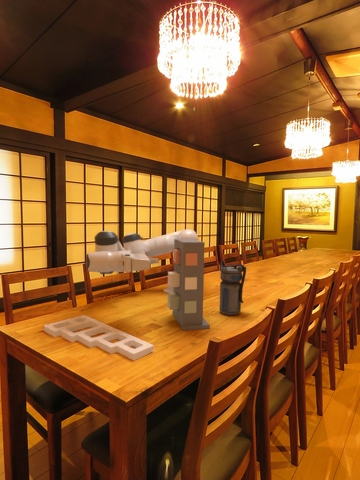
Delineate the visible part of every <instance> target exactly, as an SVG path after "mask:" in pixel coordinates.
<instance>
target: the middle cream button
mask: <svg viewBox="0 0 360 480" xmlns="http://www.w3.org/2000/svg"><path fill="white" fill-rule="evenodd" d="M167 285H169V286H170V287H180V272H174V271H167Z"/></svg>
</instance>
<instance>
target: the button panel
mask: <svg viewBox="0 0 360 480" xmlns="http://www.w3.org/2000/svg"><path fill="white" fill-rule="evenodd" d="M205 244H206V243H205V241H202V240H199V239H198V240H195V239H174V249H180V264H175V263H174V262H173V272H180V287H174V294H176V293H178V294H179V309H178V310H171V311H172V315H173V317H174V318H175V320H176V322H177V323H178V325H179V326H180V329H182V331H193V330H194V331H195V330H208V329H210V328H211V325H210V324H209V322H208V321H207V320H206V319H205V318H204V281H205V278H204V277H205V274H204V273H205V246H206V245H205Z"/></svg>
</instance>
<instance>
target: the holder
mask: <svg viewBox="0 0 360 480" xmlns="http://www.w3.org/2000/svg"><path fill="white" fill-rule="evenodd" d="M87 328H88V329H87ZM79 330H80V331H79ZM76 331H77V332H76ZM43 332H45V333H46V334H48V335H50V336H51V337H52V338H56V337H62V338H63V339H65V340H66V341H69V342H70V343H74V342H77V341H78V342H79V343H80V344H83V345H84V346H86V347H88V348H91V349H92V348H95V347H97V348H99V349H101V350H103V351H104V352H107V353H109V354H111V355H112V354H115V353H118V354H120V355H122V356H123V357H126V358H128V359H130V360H132V361H136V360H139V359H141V358H143V357H145V356H147V354H148V355H150V354H152V353H153V351H154V348H155V347H154V344H151V343H150V342H148V341H145V340H142V339H141V338H138V337H136V336H134V335H131V334H130V333H127V332H124V331H122V330H121V329H117V328H115V327H114V326H110V325H108V324H106V323H104V322H101V321H99V320H97V319H95V318H92V317H91V316H88V315H86V314H83V315H78V316H75V317H71V318H67V319H63V320H60V321H56V322H52V323H49V324H45V325H43ZM102 333H104V334H102ZM98 334H99V336H96V335H98ZM100 334H101V335H100ZM93 336H96V337H93ZM113 340H118V341H116V342H113V343H112V341H113ZM133 347H134V348H133ZM151 352H152V353H151ZM149 353H150V354H149Z"/></svg>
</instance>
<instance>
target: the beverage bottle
mask: <svg viewBox="0 0 360 480" xmlns="http://www.w3.org/2000/svg"><path fill="white" fill-rule="evenodd" d="M219 272H220V276H219V277H220V280H221V281H220V285H219V286H220V287H219V311H220V313H221V314H223V315H226V316H237V315H240V313H241V311H242V310H241V307H242V304H243V303H244V300H243V288H244V284H245V283H244V282H245V279H246V274H247V267H246V266H245V265H244V264H242V263H241V264H239V263H238V264H230V265H225V260H222V261H221V263H220V265H219Z"/></svg>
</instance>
